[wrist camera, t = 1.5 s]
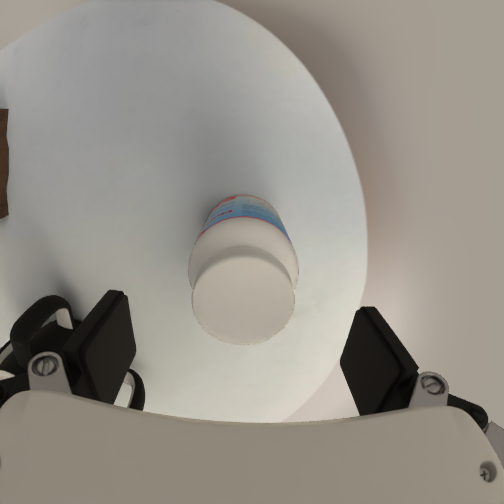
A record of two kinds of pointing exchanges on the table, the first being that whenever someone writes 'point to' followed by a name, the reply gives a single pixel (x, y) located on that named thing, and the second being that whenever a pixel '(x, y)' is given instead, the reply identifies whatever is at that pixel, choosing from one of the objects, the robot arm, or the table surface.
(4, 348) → the mug
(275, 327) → the pill bottle
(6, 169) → the hole plate
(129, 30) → the table surface
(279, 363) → the table surface
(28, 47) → the table surface
